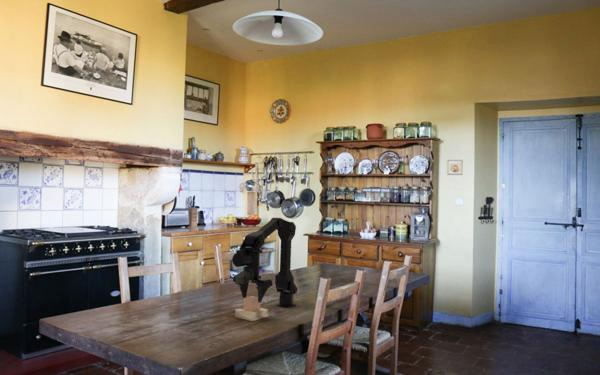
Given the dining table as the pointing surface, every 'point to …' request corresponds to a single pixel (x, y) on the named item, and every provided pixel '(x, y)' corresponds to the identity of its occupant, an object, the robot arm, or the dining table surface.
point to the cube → (251, 304)
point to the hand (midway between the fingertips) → (251, 300)
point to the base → (251, 314)
